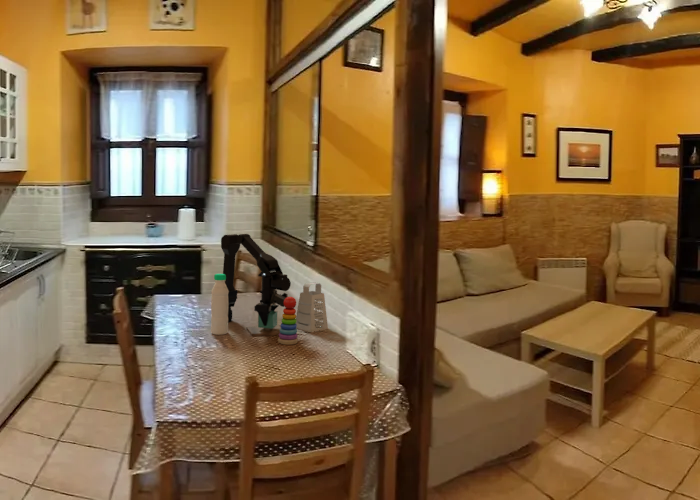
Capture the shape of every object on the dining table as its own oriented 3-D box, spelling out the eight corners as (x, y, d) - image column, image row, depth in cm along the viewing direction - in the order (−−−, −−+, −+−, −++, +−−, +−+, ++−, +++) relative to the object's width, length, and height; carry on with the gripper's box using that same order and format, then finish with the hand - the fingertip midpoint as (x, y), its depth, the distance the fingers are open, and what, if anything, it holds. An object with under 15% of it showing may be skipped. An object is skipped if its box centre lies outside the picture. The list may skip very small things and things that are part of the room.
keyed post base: (251, 336, 257) (251, 324, 257) (246, 329, 268) (246, 317, 268) (289, 334, 263) (289, 322, 262) (282, 327, 274) (282, 316, 273)
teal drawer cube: (272, 328, 262) (273, 313, 261) (258, 327, 263) (258, 312, 262) (277, 325, 268) (277, 310, 267) (262, 323, 269) (263, 309, 268)
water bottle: (231, 332, 262) (232, 273, 259) (221, 336, 256) (221, 276, 253) (217, 330, 265) (218, 272, 262) (207, 333, 259) (207, 274, 256)
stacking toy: (282, 346, 244) (283, 299, 242) (275, 341, 251) (275, 295, 249) (300, 344, 248) (302, 297, 246) (293, 339, 255) (294, 294, 253)
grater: (328, 328, 275) (329, 283, 272) (310, 332, 267) (311, 286, 265) (311, 324, 282) (312, 280, 279) (294, 327, 274) (295, 283, 272)
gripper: (280, 293, 253) (279, 330, 255) (292, 285, 271) (291, 320, 273) (254, 291, 255) (253, 328, 257) (268, 283, 273) (267, 318, 275)
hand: (267, 323), depth 265 cm, fingers closed on teal drawer cube, 6 cm apart
